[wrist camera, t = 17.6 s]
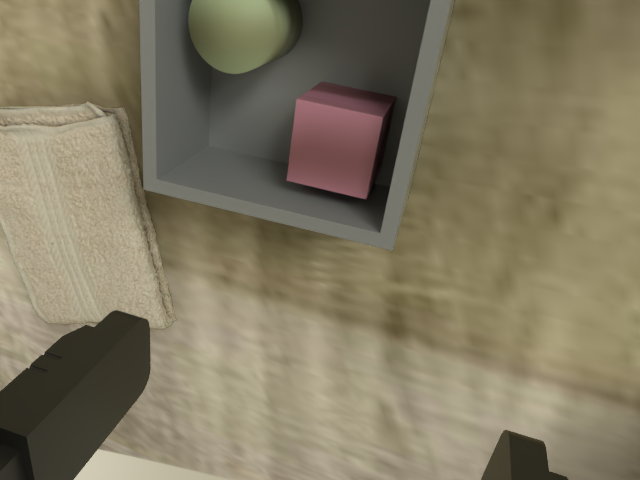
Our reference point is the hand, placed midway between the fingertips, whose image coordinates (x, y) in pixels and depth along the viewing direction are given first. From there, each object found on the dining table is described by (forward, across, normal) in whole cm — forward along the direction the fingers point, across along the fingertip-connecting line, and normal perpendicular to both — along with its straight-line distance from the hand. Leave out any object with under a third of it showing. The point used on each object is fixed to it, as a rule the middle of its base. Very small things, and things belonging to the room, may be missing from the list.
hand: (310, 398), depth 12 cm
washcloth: (+23, +22, +12) cm, 34 cm away
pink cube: (+22, +4, +1) cm, 22 cm away
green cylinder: (+22, +10, -4) cm, 25 cm away
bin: (+23, +7, -2) cm, 24 cm away
